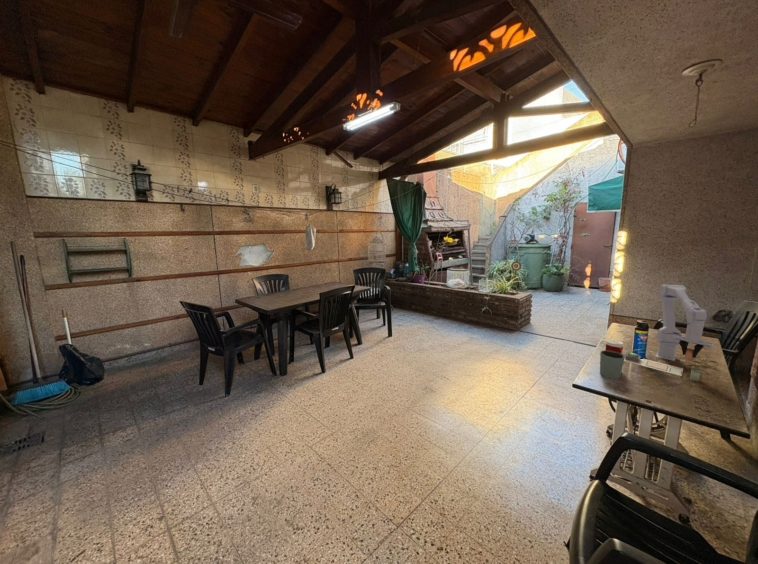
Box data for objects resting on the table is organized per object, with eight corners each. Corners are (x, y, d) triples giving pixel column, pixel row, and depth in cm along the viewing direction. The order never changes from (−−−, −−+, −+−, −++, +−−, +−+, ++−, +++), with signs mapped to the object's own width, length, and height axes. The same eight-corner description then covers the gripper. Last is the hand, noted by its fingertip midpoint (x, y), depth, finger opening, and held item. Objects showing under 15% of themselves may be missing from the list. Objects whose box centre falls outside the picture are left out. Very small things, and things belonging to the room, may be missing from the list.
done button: (629, 355, 172) (630, 352, 172) (637, 357, 170) (638, 354, 169) (628, 357, 170) (628, 353, 170) (636, 359, 167) (636, 355, 167)
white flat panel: (626, 355, 177) (627, 354, 176) (683, 369, 159) (683, 368, 159) (622, 361, 169) (622, 360, 169) (681, 376, 151) (681, 375, 151)
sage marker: (689, 377, 150) (691, 366, 149) (699, 380, 148) (701, 369, 147) (689, 379, 148) (691, 369, 147) (698, 382, 146) (701, 371, 145)
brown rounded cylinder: (685, 358, 157) (687, 347, 155) (694, 360, 154) (696, 350, 153) (683, 359, 155) (685, 349, 154) (691, 361, 152) (693, 351, 151)
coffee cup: (624, 371, 158) (628, 345, 155) (607, 369, 160) (610, 344, 157) (615, 364, 166) (618, 339, 163) (598, 362, 168) (602, 338, 165)
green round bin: (611, 381, 148) (615, 359, 146) (592, 371, 157) (595, 351, 155) (626, 378, 150) (629, 356, 148) (606, 369, 160) (609, 349, 158)
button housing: (627, 356, 174) (627, 352, 174) (640, 359, 170) (640, 355, 169) (625, 359, 170) (625, 355, 170) (638, 362, 166) (639, 358, 165)
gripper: (672, 329, 156) (667, 352, 159) (711, 337, 143) (706, 363, 146) (677, 326, 159) (673, 349, 162) (716, 335, 147) (711, 360, 149)
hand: (689, 356), depth 154 cm, fingers closed on brown rounded cylinder, 3 cm apart
